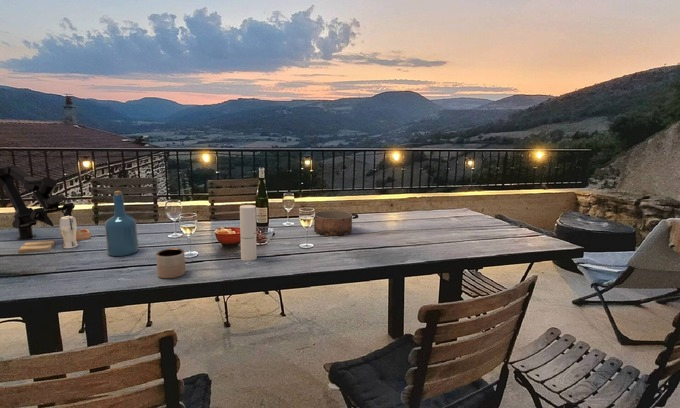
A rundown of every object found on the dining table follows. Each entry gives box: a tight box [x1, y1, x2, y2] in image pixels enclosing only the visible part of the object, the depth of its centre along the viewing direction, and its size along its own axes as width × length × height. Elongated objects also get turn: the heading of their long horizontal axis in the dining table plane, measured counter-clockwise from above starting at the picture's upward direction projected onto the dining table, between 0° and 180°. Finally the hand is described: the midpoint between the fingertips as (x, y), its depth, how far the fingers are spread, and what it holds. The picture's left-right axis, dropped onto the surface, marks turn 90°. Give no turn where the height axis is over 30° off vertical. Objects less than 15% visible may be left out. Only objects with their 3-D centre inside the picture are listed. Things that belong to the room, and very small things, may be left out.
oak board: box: [17, 239, 56, 254], centre depth 193 cm, size 14×12×2 cm
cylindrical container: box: [239, 204, 258, 262], centre depth 183 cm, size 7×7×25 cm
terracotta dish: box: [76, 228, 92, 242], centre depth 210 cm, size 9×9×4 cm
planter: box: [155, 248, 187, 280], centre depth 163 cm, size 11×11×10 cm
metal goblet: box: [58, 215, 79, 249], centre depth 194 cm, size 7×7×15 cm
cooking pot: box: [313, 209, 359, 237], centre depth 233 cm, size 30×22×11 cm
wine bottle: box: [104, 190, 139, 257], centre depth 186 cm, size 14×13×30 cm
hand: (62, 223), depth 195 cm, fingers open, 9 cm apart
